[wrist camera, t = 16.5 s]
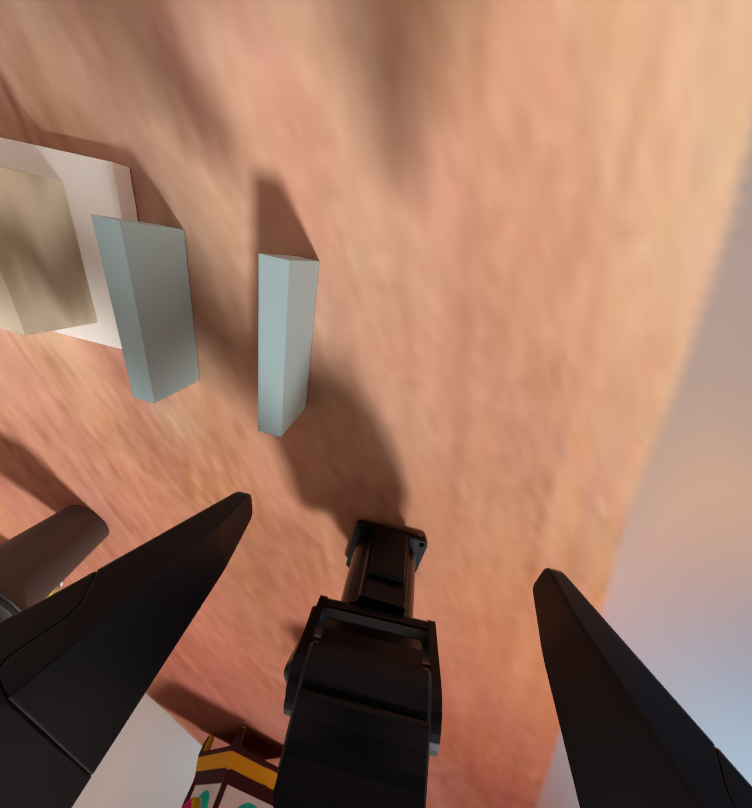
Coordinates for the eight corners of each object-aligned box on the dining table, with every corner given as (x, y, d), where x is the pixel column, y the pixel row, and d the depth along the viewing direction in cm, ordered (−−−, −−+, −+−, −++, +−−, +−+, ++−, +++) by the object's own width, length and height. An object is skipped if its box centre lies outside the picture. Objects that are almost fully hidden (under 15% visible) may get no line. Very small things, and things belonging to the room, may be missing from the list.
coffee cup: (133, 546, 34) (28, 645, 25) (84, 545, 36) (-29, 637, 27) (91, 494, 31) (-45, 588, 22) (40, 497, 32) (-105, 584, 24)
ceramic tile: (160, 352, 21) (148, 356, 20) (27, 318, 22) (10, 320, 21) (129, 167, 16) (111, 161, 15) (-44, 129, 17) (-70, 121, 16)
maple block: (98, 322, 20) (25, 335, 16) (45, 308, 20) (-38, 318, 16) (62, 181, 16) (-42, 157, 12) (-2, 165, 16) (-122, 138, 13)
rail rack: (305, 408, 21) (280, 437, 18) (181, 375, 22) (133, 397, 18) (319, 261, 16) (289, 260, 13) (160, 224, 17) (90, 214, 13)
